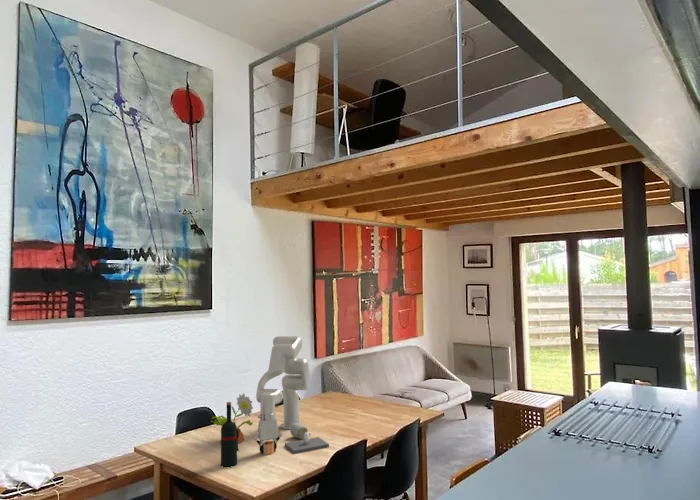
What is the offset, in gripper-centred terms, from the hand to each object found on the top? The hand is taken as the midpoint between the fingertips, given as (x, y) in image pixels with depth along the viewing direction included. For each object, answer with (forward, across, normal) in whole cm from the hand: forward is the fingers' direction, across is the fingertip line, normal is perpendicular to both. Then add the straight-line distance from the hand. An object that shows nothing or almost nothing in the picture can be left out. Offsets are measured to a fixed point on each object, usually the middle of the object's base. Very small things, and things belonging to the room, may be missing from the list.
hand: (268, 451), depth 252 cm
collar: (+1, 0, 0) cm, 1 cm away
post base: (+1, +21, -2) cm, 21 cm away
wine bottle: (+1, -21, -6) cm, 22 cm away
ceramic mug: (+1, +24, +14) cm, 28 cm away
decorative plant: (+1, -13, +29) cm, 32 cm away
